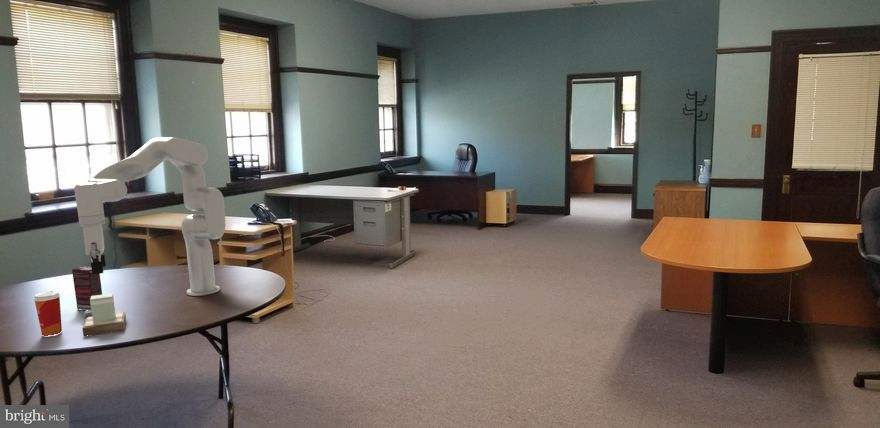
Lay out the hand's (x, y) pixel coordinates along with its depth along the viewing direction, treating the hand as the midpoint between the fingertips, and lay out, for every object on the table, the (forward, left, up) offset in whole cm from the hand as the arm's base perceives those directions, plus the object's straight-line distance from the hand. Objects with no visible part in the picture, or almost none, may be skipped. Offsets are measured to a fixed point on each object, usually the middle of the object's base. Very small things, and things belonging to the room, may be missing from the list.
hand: (99, 270), depth 212 cm
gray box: (-11, -4, -20) cm, 23 cm away
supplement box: (-28, -7, -20) cm, 35 cm away
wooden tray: (0, 0, -20) cm, 20 cm away
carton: (0, 0, -17) cm, 17 cm away
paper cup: (-2, -16, -20) cm, 26 cm away
